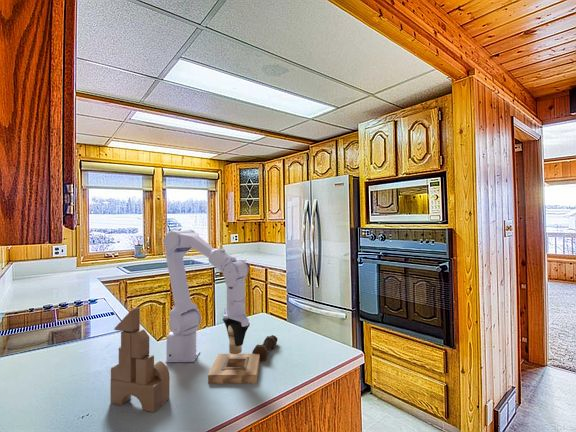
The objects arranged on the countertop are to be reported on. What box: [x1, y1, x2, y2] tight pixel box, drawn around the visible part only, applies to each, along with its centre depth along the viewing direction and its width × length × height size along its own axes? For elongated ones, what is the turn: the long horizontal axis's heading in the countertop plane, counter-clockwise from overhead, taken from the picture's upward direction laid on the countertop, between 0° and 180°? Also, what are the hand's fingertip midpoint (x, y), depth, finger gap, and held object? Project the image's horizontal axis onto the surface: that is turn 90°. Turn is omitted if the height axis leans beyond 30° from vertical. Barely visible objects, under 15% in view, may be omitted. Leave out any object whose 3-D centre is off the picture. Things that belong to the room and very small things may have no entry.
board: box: [207, 353, 261, 384], centre depth 98 cm, size 14×14×3 cm
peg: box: [227, 325, 243, 354], centre depth 98 cm, size 4×4×8 cm
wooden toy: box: [109, 306, 171, 413], centre depth 83 cm, size 15×7×25 cm, turn 73°
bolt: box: [251, 334, 278, 362], centre depth 112 cm, size 6×5×15 cm
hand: (235, 342), depth 98 cm, fingers closed on peg, 4 cm apart
